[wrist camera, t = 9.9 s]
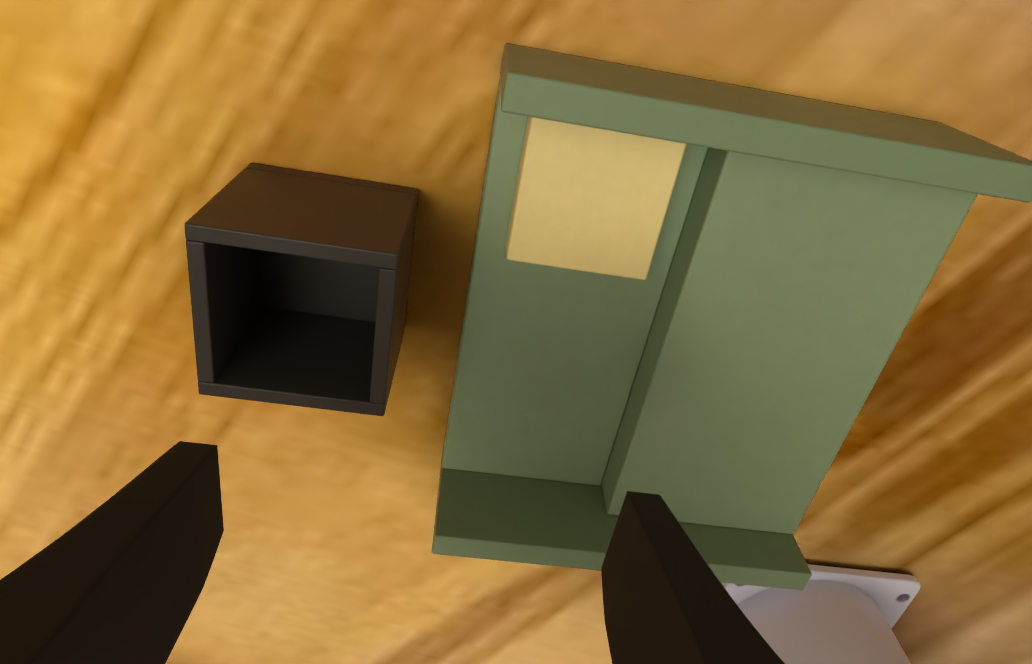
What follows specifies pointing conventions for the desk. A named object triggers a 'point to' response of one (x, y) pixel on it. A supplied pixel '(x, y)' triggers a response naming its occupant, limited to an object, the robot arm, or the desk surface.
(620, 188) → the note pad
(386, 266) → the holder
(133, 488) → the robot arm
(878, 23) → the desk surface
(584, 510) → the shelf
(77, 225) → the desk surface
